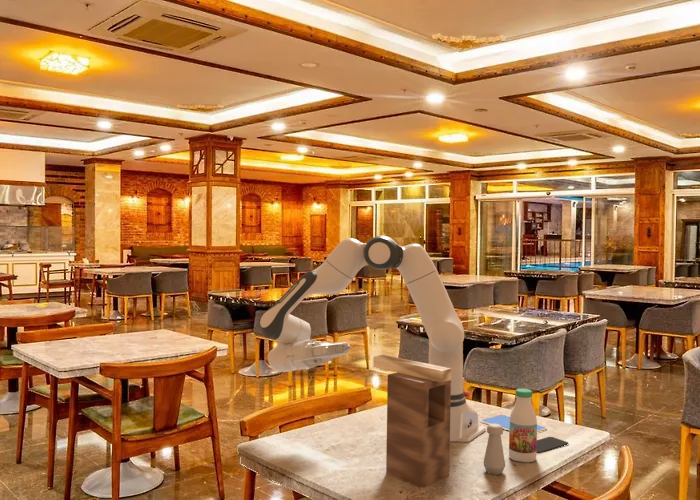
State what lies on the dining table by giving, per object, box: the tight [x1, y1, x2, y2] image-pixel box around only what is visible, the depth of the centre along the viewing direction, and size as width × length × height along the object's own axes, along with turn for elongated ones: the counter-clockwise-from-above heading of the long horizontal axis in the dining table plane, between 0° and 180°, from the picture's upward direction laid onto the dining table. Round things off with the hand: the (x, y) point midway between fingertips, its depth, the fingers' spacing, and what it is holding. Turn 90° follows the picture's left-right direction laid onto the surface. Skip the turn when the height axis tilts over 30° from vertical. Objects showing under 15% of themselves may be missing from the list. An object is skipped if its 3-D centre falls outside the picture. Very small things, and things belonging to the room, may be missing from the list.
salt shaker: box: [483, 424, 506, 476], centre depth 169 cm, size 6×6×13 cm
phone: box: [536, 436, 569, 454], centre depth 191 cm, size 7×1×15 cm
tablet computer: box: [479, 414, 548, 433], centre depth 210 cm, size 19×13×1 cm, turn 38°
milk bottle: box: [508, 388, 538, 463], centre depth 179 cm, size 8×8×20 cm
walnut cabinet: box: [385, 372, 451, 488], centre depth 166 cm, size 12×12×27 cm
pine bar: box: [372, 354, 451, 382], centre depth 168 cm, size 4×24×3 cm, turn 44°
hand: (338, 348), depth 187 cm, fingers open, 8 cm apart
